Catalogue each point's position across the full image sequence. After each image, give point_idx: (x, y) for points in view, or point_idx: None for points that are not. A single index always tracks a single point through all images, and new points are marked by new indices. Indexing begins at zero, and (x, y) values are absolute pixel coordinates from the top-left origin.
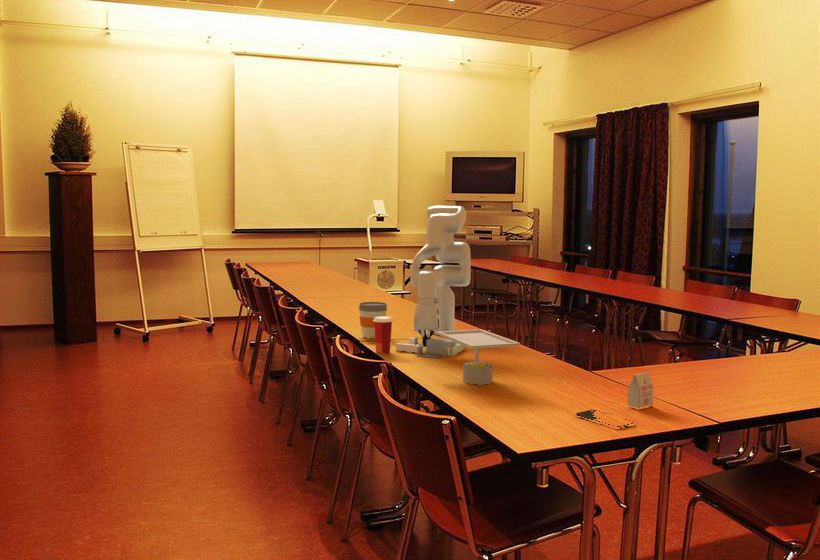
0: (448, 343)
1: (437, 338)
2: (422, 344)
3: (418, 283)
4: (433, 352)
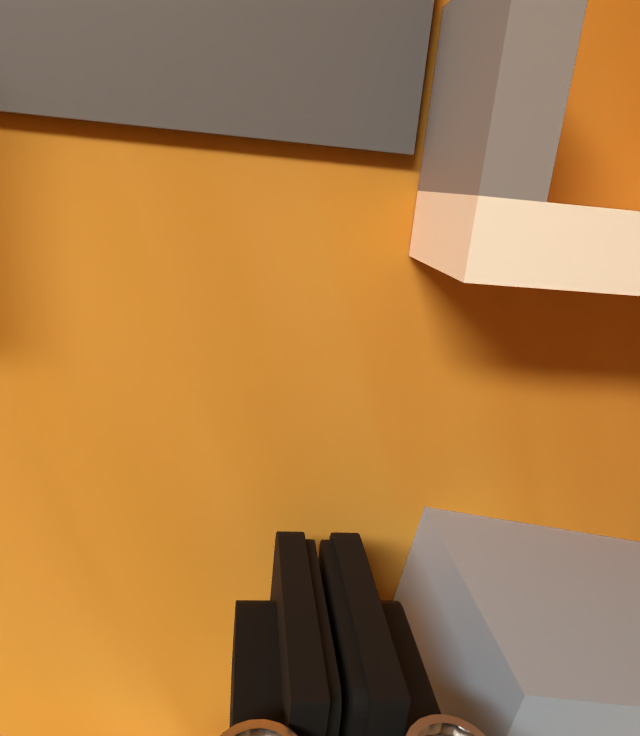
0: None
1: (632, 725)
2: (40, 95)
3: None
4: None
